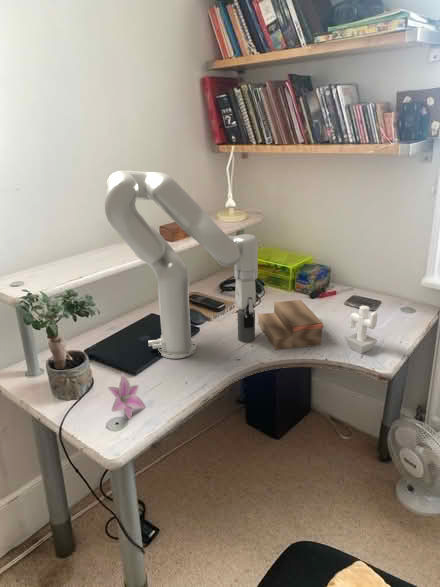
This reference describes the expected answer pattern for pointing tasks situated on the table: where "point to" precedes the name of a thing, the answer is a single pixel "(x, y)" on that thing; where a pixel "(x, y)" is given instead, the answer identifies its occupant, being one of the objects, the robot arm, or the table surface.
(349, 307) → the table surface
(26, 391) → the table surface
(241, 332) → the bottle
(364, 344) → the figurine
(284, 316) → the step stand
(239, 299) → the robot arm
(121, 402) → the lily
